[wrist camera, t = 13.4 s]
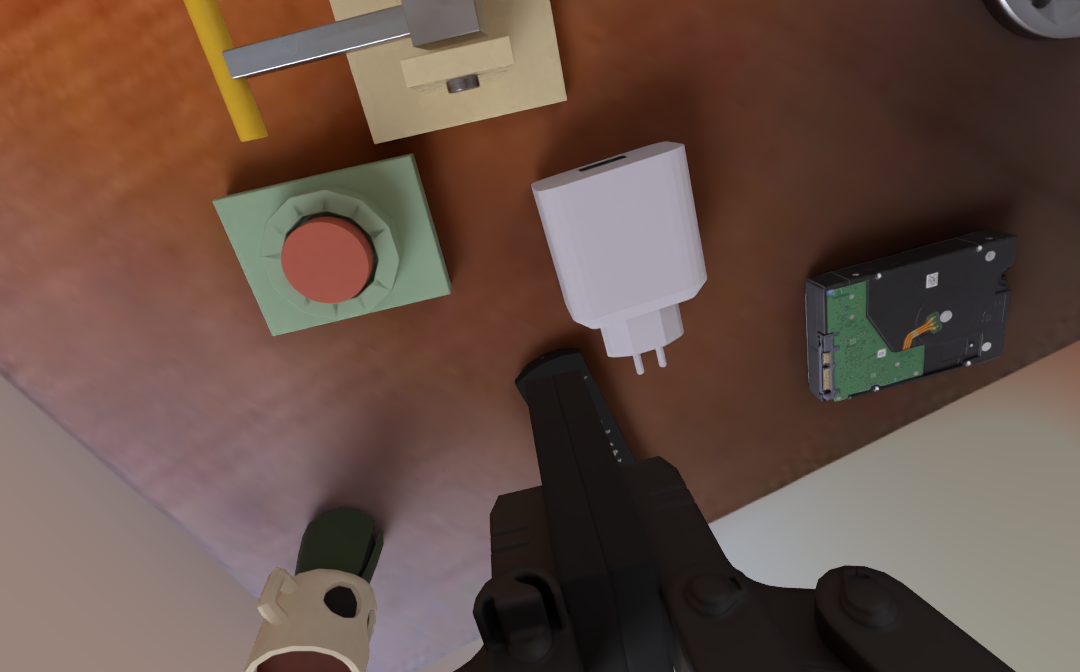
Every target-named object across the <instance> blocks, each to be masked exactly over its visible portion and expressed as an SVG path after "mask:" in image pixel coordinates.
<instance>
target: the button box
mask: <svg viewBox="0 0 1080 672" xmlns="http://www.w3.org/2000/svg"><path fill="white" fill-rule="evenodd" d="M213 204H214V206H215V208H216V210H217V213H218V215H219V217H220V219H221V222H222V224H223V226H224V228H225V231H226V233H227V235H228V237H229V240H230V242H231V244H232V246H233V249H234V251H235V253H236V255H237V258H238V260H239V262H240V264H241V266H242V269H243V271H244V273H245V275H246V278H247V280H248V282H249V284H250V287H251V289H252V291H253V293H254V296H255V298H256V300H257V302H258V305H259V307H260V309H261V311H262V314H263V316H264V318H265V320H266V323H267V325H268V327H269V329H270V332H271V334H272V336H276V335H280V334H284V333H289V332H293V331H297V330H301V329H305V328H310V327H314V326H318V325H322V324H326V323H331V322H335V321H339V320H343V319H347V318H352V317H356V316H360V315H364V314H368V313H373V312H377V311H381V310H385V309H389V308H394V307H398V306H402V305H406V304H410V303H414V302H419V301H423V300H427V299H431V298H435V297H440V296H444V295H448V294H450V292H451V282H450V279H449V275H448V272H447V268H446V265H445V261H444V258H443V254H442V251H441V247H440V244H439V240H438V237H437V233H436V230H435V226H434V223H433V220H432V216H431V213H430V209H429V206H428V202H427V199H426V195H425V192H424V188H423V185H422V181H421V178H420V174H419V171H418V167H417V164H416V160H415V157H414V154H413V153H410V154H405V155H401V156H397V157H392V158H388V159H384V160H379V161H375V162H371V163H366V164H362V165H357V166H353V167H349V168H344V169H340V170H336V171H331V172H327V173H322V174H318V175H314V176H309V177H305V178H301V179H296V180H292V181H287V182H283V183H279V184H274V185H270V186H266V187H261V188H257V189H253V190H248V191H244V192H239V193H235V194H231V195H226V196H223V197H221V198H218V199H215V200H213ZM323 216H331V217H337V218H341V219H344V220H346V221H348V222H350V223H352V224H353V225H355V226H356V227H357V228H359V229H360V230H361V231H362V232H363V233H364V235H365V236H366V237H367V239H368V241H369V243H370V245H371V247H372V251H373V257H374V260H373V268H372V272H371V274H370V276H369V278H368V280H367V281H366V283H365V285H364V286H363V288H362V289H361V290H360V291H359V293H357V294H356V295H355V296H354V297H352V298H350V299H348V300H346V301H343V302H340V303H331V304H329V303H320V302H316V301H313V300H311V299H308V298H306V297H305V296H303V295H302V294H300V293H299V292H298V291H296V290H295V289H294V288H293V287H292V285H291V284H290V283H289V281H288V280H287V278H286V276H285V274H284V271H283V269H282V264H281V252H282V248H283V245H284V243H285V241H286V239H287V237H288V236H289V235H290V234H291V233H292V232H293V231H294V230H295V229H297V228H298V227H300V226H301V225H302V224H304V223H305V222H307V221H309V220H311V219H314V218H317V217H323Z"/></svg>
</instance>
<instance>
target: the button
mask: <svg viewBox="0 0 1080 672" xmlns="http://www.w3.org/2000/svg"><path fill="white" fill-rule="evenodd" d="M373 260H374V257H373V251H372V247H371V245H370V243H369V241H368V239H367V237H366V236H365V235H364V233H363V232H362V231H361V230H360V229H359V228H357V227H356V226H355V225H353V224H352V223H350V222H348V221H346V220H344V219H341V218H337V217H331V216H323V217H317V218H314V219H311V220H309V221H307V222H305V223H304V224H302V225H301V226H300V227H298V228H297V229H295V230H294V231H293V232H292V233H291V234H290V235H289V236H288V237H287V239H286V241H285V243H284V245H283V248H282V252H281V264H282V269H283V271H284V274H285V276H286V278H287V280H288V281H289V283H290V284H291V285H292V287H293V288H294V289H295V290H296V291H298V292H299V293H300V294H302V295H303V296H305V297H306V298H308V299H311V300H313V301H316V302H320V303H329V304H331V303H340V302H343V301H346V300H348V299H350V298H352V297H354V296H355V295H356V294H357V293H359V291H360V290H361V289H362V288H363V286H364V285H365V283H366V281H367V280H368V278H369V276H370V274H371V272H372V268H373Z"/></svg>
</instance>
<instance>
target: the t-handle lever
mask: <svg viewBox="0 0 1080 672" xmlns="http://www.w3.org/2000/svg"><path fill="white" fill-rule="evenodd" d="M184 3H185V5H186V8H187V10H188V13H189V15H190V18H191V20H192V22H193V25H194V27H195V30H196V32H197V35H198V37H199V40H200V42H201V45H202V47H203V50H204V52H205V54H206V57H207V59H208V62H209V64H210V67H211V69H212V72H213V74H214V77H215V79H216V81H217V84H218V86H219V89H220V91H221V94H222V96H223V99H224V101H225V104H226V106H227V109H228V111H229V113H230V116H231V118H232V121H233V123H234V126H235V128H236V131H237V133H238V136H239V138H240V140H241V142H245V141H250V140H255V139H259V138H263V137H267V136H268V133H267V130H266V128H265V125H264V123H263V120H262V117H261V115H260V112H259V110H258V107H257V104H256V102H255V99H254V97H253V94H252V91H251V89H250V86H249V84H248V81H247V79H248V78H252V77H256V76H260V75H264V74H268V73H272V72H276V71H280V70H284V69H288V68H292V67H296V66H300V65H304V64H308V63H312V62H316V61H320V60H324V59H328V58H332V57H336V56H340V55H344V54H348V53H352V52H356V51H360V50H364V49H368V48H372V47H376V46H380V45H384V44H388V43H392V42H396V41H400V40H404V39H408V38H411V40H412V44H413V47H416V48H420V49H425V50H433V49H437V48H441V47H445V46H449V45H453V44H457V43H462V42H466V41H470V40H474V39H478V38H482V37H486V36H489V32H488V27H487V23H486V18H485V13H484V9H483V4H482V0H401V3H402V4H401V5H397V6H394V7H390V8H386V9H382V10H378V11H374V12H371V13H367V14H363V15H359V16H355V17H351V18H348V19H344V20H340V21H336V22H332V23H328V24H324V25H321V26H317V27H313V28H309V29H305V30H301V31H298V32H294V33H290V34H286V35H282V36H278V37H275V38H271V39H267V40H263V41H259V42H255V43H252V44H248V45H244V46H240V47H236V48H235V47H234V45H233V42H232V40H231V37H230V34H229V32H228V29H227V27H226V24H225V21H224V19H223V16H222V14H221V11H220V8H219V6H218V3H217V1H216V0H184Z"/></svg>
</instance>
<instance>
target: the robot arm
mask: <svg viewBox="0 0 1080 672" xmlns="http://www.w3.org/2000/svg"><path fill="white" fill-rule="evenodd" d="M982 1H983V3H984V4H985V6H986V8H987V9H988V11H989V12H990V13H991V15H992V16H993V17H994V18H995V19H996V20H997V21H998V22H999V23H1000V24H1001V25H1002V26H1003V27H1005V28H1006V29H1007V30H1009V31H1011V32H1013V33H1014V34H1016V35H1019V36H1022V37H1024V38H1028V39H1033V40H1043V41H1048V40H1060V39H1068V38H1077V37H1080V0H982ZM524 384H525V389H526V395H527V401H528V407H529V412H530V418H531V424H532V430H533V435H534V441H535V447H536V453H537V458H538V464H539V470H540V475H541V481H542V486H537V487H533V488H529V489H525V490H521V491H516V492H512V493H508V494H504V495H500V496H498V498H497V500H496V503H495V505H494V507H493V509H492V511H491V513H490V534H491V553H492V554H491V567H492V578H491V579H490V580H489V581H488V582H486V583H485V584H484V586H483V588H482V589H481V591H480V592H479V594H478V595H477V597H476V599H475V604H474V608H473V615H474V618H475V621H476V623H477V626H478V629H479V632H480V634H481V637H482V640H483V643H484V645H483V646H482V648H481V649H480V650H479V652H478V653H477V654H476V655H475V656H474V657H473V658H472V659H471V660H470V661H468V662H467V663H466V664H464V665H463V666H462V667H460V668H459V669H457V670H455V671H454V672H674V669H675V672H1015V671H1014V670H1013V669H1012V668H1010V667H1009V666H1008V665H1006V664H1005V663H1004V662H1002V661H1001V660H1000V659H999V658H998V657H996V656H995V655H994V654H992V653H991V652H990V651H988V650H987V649H986V648H985V647H983V646H982V645H981V644H979V643H978V642H977V641H976V640H974V639H973V638H972V637H971V636H969V635H968V634H967V633H966V632H964V631H963V630H962V629H960V628H959V627H958V626H956V625H955V624H954V623H953V622H952V621H950V620H949V619H948V618H946V617H945V616H944V615H943V614H941V613H940V612H939V611H937V610H936V609H935V608H933V607H932V606H931V605H930V604H929V603H927V602H926V601H925V600H923V599H922V598H921V597H920V596H918V595H917V594H916V593H914V592H913V591H912V590H911V589H909V588H908V587H907V586H905V585H904V584H903V583H901V582H900V581H898V580H896V579H895V578H893V577H891V576H890V575H888V574H886V573H884V572H881V571H878V570H874V569H871V568H868V567H865V566H842V567H839V568H835V569H831V570H829V571H828V572H827V573H825V574H824V575H823V576H822V577H821V578H820V579H818V583H817V586H816V589H802V588H783V587H775V586H769V585H765V584H762V583H759V582H756V581H754V580H752V579H750V578H748V577H746V576H745V575H744V574H743V573H742V572H741V571H739V570H737V569H735V568H734V567H733V566H732V565H731V563H730V562H729V561H728V559H727V558H726V556H725V555H724V553H723V551H722V549H721V547H720V546H719V544H718V542H717V540H716V538H715V537H714V535H713V533H712V531H711V530H710V528H709V526H708V524H707V522H706V520H705V519H704V517H703V515H702V513H701V511H700V510H699V508H698V506H697V504H696V503H695V502H694V499H693V497H692V495H691V493H690V492H689V490H688V489H687V487H686V484H685V483H684V481H683V479H682V477H681V475H680V474H679V472H678V470H677V468H675V467H674V466H673V465H671V464H670V463H668V462H667V461H666V460H664V459H663V458H661V457H660V456H657V457H652V458H648V459H644V460H640V461H636V462H631V463H627V464H623V465H618V462H617V460H616V457H615V455H614V452H613V449H612V447H611V444H610V442H609V439H608V437H607V434H606V432H605V429H604V427H603V424H602V422H601V419H600V417H599V414H598V412H597V409H596V407H595V404H594V402H593V399H592V397H591V394H590V392H589V389H588V387H587V384H586V382H585V379H584V377H583V374H582V372H581V369H580V368H579V369H574V370H570V371H566V372H562V373H557V374H553V375H549V376H544V377H540V378H536V379H532V380H527V381H524ZM673 666H674V668H673Z"/></svg>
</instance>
